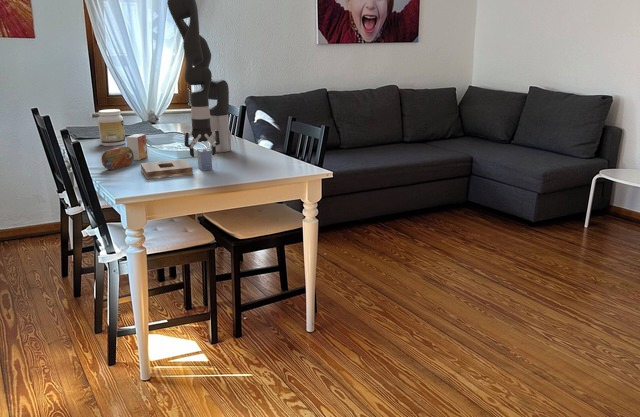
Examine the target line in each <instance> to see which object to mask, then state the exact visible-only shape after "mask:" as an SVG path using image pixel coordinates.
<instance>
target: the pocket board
mask: <svg viewBox="0 0 640 417" xmlns="http://www.w3.org/2000/svg"><path fill="white" fill-rule="evenodd" d="M140 170H141V172H142V174H143V173H144V174H143V175H144V177H145V176H146V177H145V178H147V179H146V180H151V179H150V178H157V179H160V178H159V177H166V178H170V177H169V176H175V177H182V176H181V175H185V176H192V175H193V174H194V172H193V167H192V165H191V164H190V163H188V162H187V161H186V159H184V158H183V159H182V158H181V159H174V160H163V161H151V162H141V163H140Z"/></svg>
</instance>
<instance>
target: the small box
mask: <svg viewBox="0 0 640 417" xmlns="http://www.w3.org/2000/svg"><path fill="white" fill-rule="evenodd" d="M125 140H126V141H125V142H126V147H129V148H130V149H131V150H132V152H133V156H134V157H133V161H141V160H143V159H145V158H148V147H147V145H148V144H147V135H146V133H145V134H144V133H133V134H132V135H129V136H125Z"/></svg>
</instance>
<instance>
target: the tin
mask: <svg viewBox="0 0 640 417" xmlns="http://www.w3.org/2000/svg"><path fill="white" fill-rule="evenodd" d="M133 157H134V156H133V152H132V150H131V149H130V148H129V147H127V146H119V147H115V148H112V149H106V150H105V151H104V152H103V153H102V155H101V163H102V166H103V168H104V169H107V170H111V171H114V169H115V170H118V169H121V168H122V169H123V168H126V167H130V165H131V164H132V163H133V161H134V160H133Z"/></svg>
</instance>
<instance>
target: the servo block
mask: <svg viewBox="0 0 640 417" xmlns="http://www.w3.org/2000/svg"><path fill="white" fill-rule="evenodd" d="M196 152H197V153H196V155H197V166H198V169H199V170H200V171H212V170H213V157H212V156H213V155H212V151H211V149H209V147H208V148H206V147H205V148H197V149H196Z"/></svg>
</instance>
